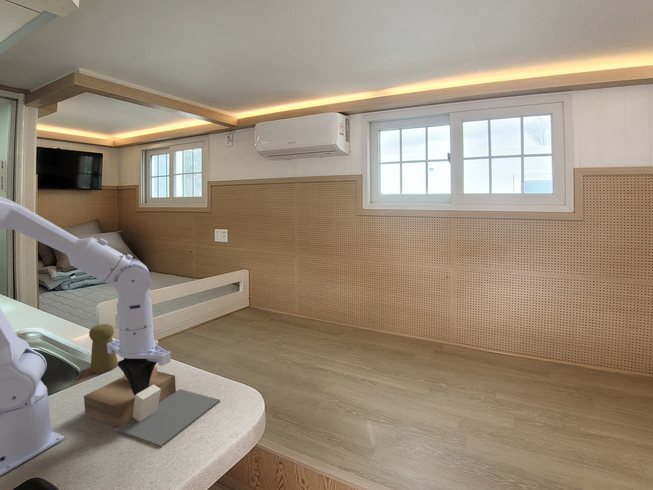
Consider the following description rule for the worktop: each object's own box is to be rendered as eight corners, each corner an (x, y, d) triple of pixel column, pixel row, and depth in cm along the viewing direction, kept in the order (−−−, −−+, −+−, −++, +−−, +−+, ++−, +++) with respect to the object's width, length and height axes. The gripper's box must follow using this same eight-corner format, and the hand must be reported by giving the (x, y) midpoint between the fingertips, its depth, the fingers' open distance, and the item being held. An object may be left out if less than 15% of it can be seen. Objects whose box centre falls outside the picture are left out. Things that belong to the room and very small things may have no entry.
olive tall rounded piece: (121, 360, 92) (118, 320, 91) (115, 371, 87) (111, 328, 85) (94, 364, 90) (91, 323, 89) (86, 375, 85) (82, 331, 83)
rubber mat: (161, 447, 59) (161, 445, 59) (116, 431, 64) (116, 429, 64) (220, 401, 73) (220, 399, 73) (180, 390, 77) (180, 389, 77)
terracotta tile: (141, 384, 72) (140, 375, 72) (124, 379, 74) (123, 370, 74) (157, 375, 76) (156, 366, 76) (140, 371, 78) (140, 362, 78)
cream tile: (132, 416, 66) (139, 422, 66) (135, 394, 65) (143, 399, 65) (150, 405, 70) (157, 410, 69) (153, 384, 69) (160, 389, 68)
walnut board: (120, 427, 65) (119, 407, 64) (85, 415, 69) (83, 396, 68) (175, 392, 77) (174, 375, 76) (143, 383, 80) (142, 367, 80)
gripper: (181, 323, 67) (185, 390, 68) (128, 314, 72) (132, 376, 74) (150, 336, 60) (155, 410, 62) (94, 325, 66) (100, 393, 68)
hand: (140, 393), depth 68 cm, fingers closed
